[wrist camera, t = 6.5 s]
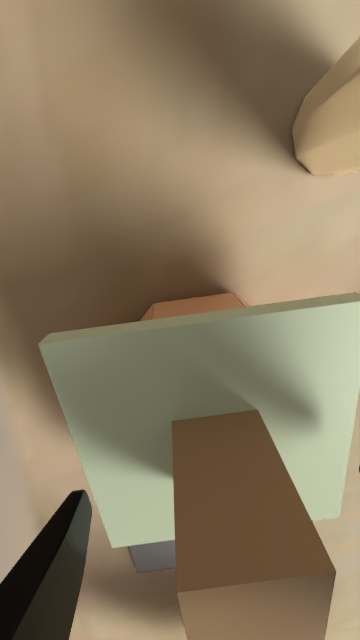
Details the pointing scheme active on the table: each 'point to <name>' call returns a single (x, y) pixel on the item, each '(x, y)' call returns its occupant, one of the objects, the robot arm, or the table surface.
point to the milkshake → (331, 120)
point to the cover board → (205, 382)
